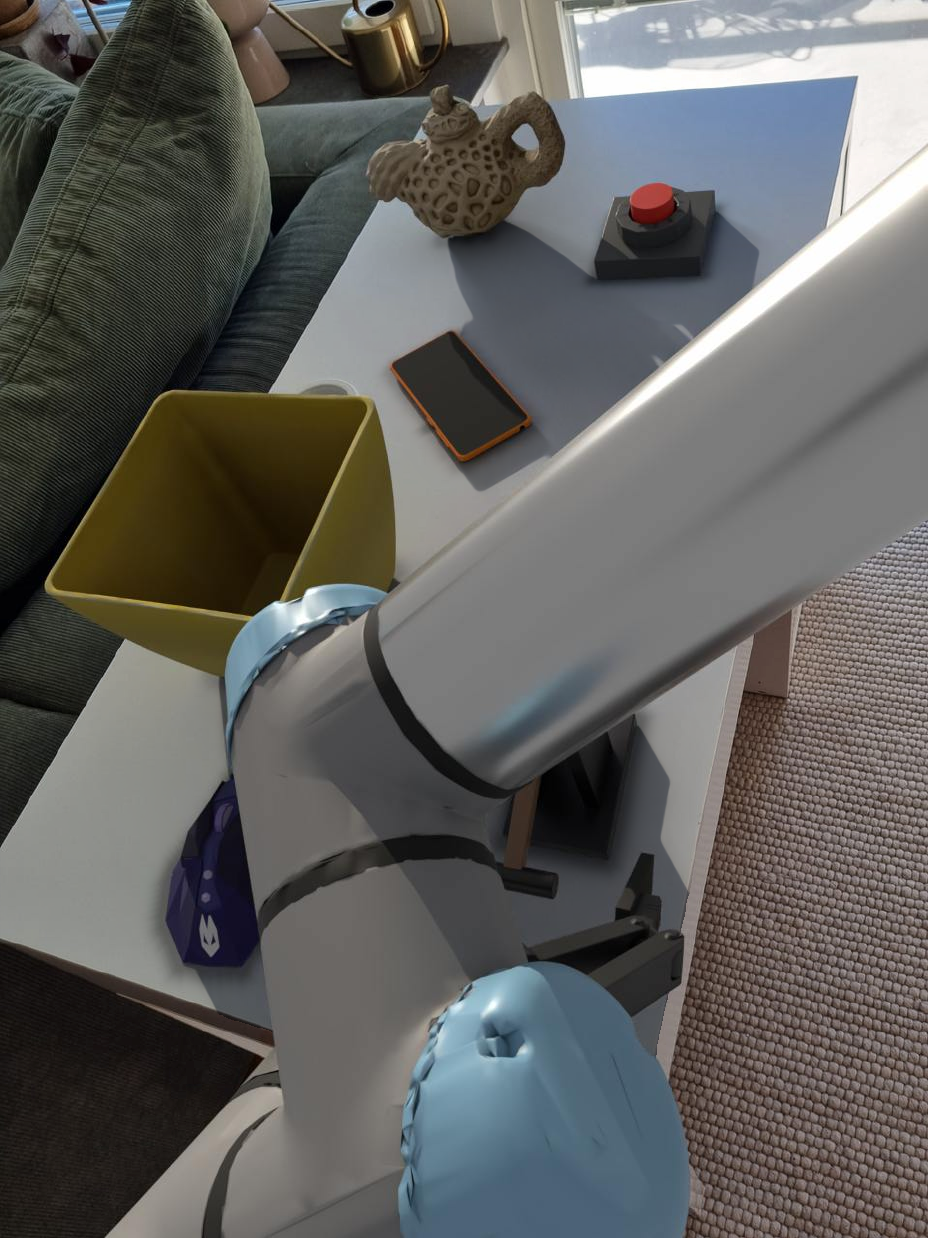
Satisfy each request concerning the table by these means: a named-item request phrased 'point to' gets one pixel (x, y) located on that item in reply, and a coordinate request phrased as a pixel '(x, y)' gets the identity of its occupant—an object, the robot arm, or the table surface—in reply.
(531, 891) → the switch lever
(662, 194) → the power button
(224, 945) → the computer mouse
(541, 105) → the teapot
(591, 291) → the table surface
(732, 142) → the table surface
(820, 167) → the table surface
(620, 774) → the switch bracket
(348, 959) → the robot arm
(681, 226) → the control block
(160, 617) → the flower pot
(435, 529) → the table surface
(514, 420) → the smartphone
